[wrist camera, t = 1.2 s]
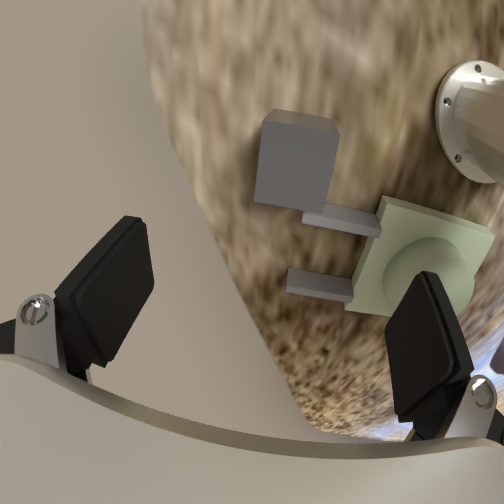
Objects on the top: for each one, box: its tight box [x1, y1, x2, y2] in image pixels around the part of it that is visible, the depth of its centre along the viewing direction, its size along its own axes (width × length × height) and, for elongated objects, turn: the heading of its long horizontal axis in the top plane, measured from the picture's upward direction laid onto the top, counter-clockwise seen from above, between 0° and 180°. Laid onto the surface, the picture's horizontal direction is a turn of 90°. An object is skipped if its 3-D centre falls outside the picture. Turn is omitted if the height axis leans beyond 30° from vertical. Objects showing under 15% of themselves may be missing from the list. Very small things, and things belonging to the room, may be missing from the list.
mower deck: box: [285, 195, 495, 318], centre depth 26 cm, size 22×14×6 cm, turn 84°
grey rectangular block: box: [254, 109, 340, 214], centre depth 21 cm, size 5×6×7 cm
